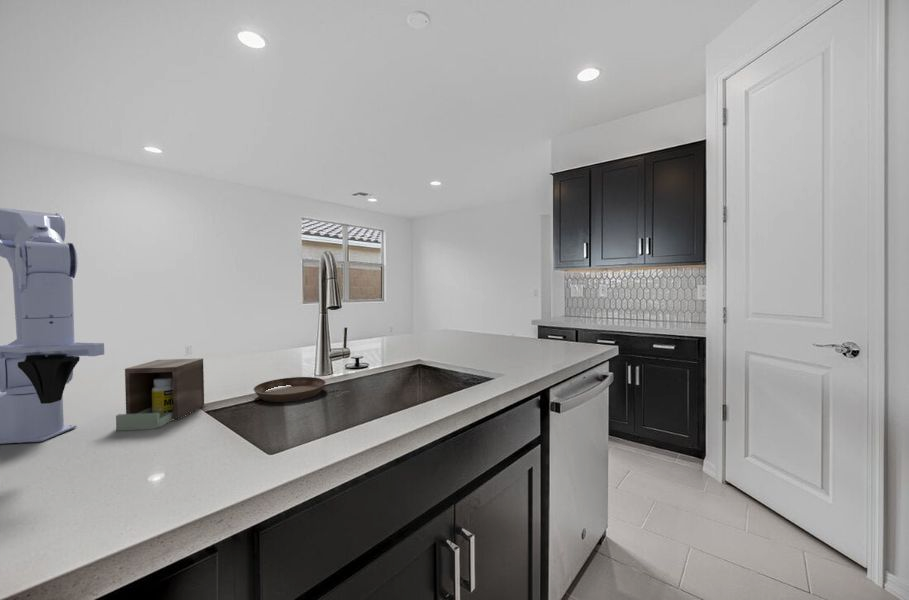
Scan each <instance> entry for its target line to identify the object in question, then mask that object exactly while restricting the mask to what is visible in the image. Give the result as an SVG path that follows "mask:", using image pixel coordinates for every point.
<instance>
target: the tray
mask: <svg viewBox="0 0 909 600" xmlns="http://www.w3.org/2000/svg"><path fill="white" fill-rule="evenodd" d="M172 419H174V416H173V412H172V413H152V407H150V408H148V409H145V410H143V411H141V412H139V413H136V414H126V413H119V414H117V415H115V425H116V426H115V428H116V430H118V431H135V430H154V429H155V430H156V428H157V429H159V428H162V427H163V426H164V424H165V425H167V424H168V423H170V422H172V421H173V420H172ZM171 420H172V421H171ZM169 421H170V422H169ZM167 422H168V423H167ZM166 423H167V424H166ZM162 425H163V426H162Z"/></svg>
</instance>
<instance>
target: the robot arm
mask: <svg viewBox="0 0 909 600" xmlns="http://www.w3.org/2000/svg"><path fill="white" fill-rule="evenodd" d="M65 238H66V222H65V218H64V216H63V215H62V214H61V213H59V212H56V213H50V212H41V211H33V210H32V211H31V210H22V209H15V208H14V209H13V208H5V207H4V208H3V207H0V257H2V258H3V259H5V260H7V262H8V265H9V267H10V269H11V272H12V285H13V299H14V301H13V302H14V312H15V313H14V315H15V317H14V319H15V333H16V339H14V340H13V341H12V342H10V343H8V344H7V345H6V344H3V345H0V444H15V443H16V444H17V443H22V444H23V443H37V442H44V441H47V440H49V439H51V438H53V437H55V436H59V435H61V434H63V433H65V432H67V431H70V430H72V429H75V428H77V424H67V425H66V424H65V423H64V391H65V388H66V385H67V384H69V383H70V382H71V381H72V380H73V376H74V368H75V367H76V366H77V364H78V363H79V361H80V357H97V356H98V357H99V356H102V355H105V343H104V342H75V320H74V318H75V317H74V284H73V283H74V282H73V279H75V278H76V275H77V271H78V253H77V249H76V247H75V245H74V243H73V242H67V243H65ZM64 424H65V425H64Z"/></svg>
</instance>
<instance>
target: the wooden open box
mask: <svg viewBox="0 0 909 600" xmlns="http://www.w3.org/2000/svg"><path fill="white" fill-rule="evenodd" d="M164 376H173V416H174V420H178V419H180V418H181V417H183V416H185V415H187V414H189V413H190V412H192V411H194V410H196V409H197V410H199V409H202V407H204V406H205V380H204V379H205V377H204V376H205V375H204V358H202V357H201V358H176V359H175V358H173V359H172V358H171V359H156V360H152V361H149V362H145V363H141V364H138V365H134V366H130V367H126V368H124V386H125V389H124V390H125V414H136V413H139V412H141V411H143V410H145V409H148V408H150V407H152V388H153V387H155V385H154V379H155V378H158V377H164ZM203 405H204V406H203ZM197 410H196V411H197ZM194 412H195V411H194ZM192 413H193V412H192ZM190 414H191V413H190ZM190 414H189V415H190ZM187 416H188V415H187ZM185 417H186V416H185ZM183 418H184V417H183ZM181 419H182V418H181ZM181 419H180V420H181ZM174 420H173V421H174ZM178 421H179V420H178Z"/></svg>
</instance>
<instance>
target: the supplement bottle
mask: <svg viewBox="0 0 909 600" xmlns="http://www.w3.org/2000/svg"><path fill="white" fill-rule="evenodd" d="M154 385H155V387H153V388H152V413H172V412H173V376H164V377H158V378H155V379H154Z"/></svg>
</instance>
